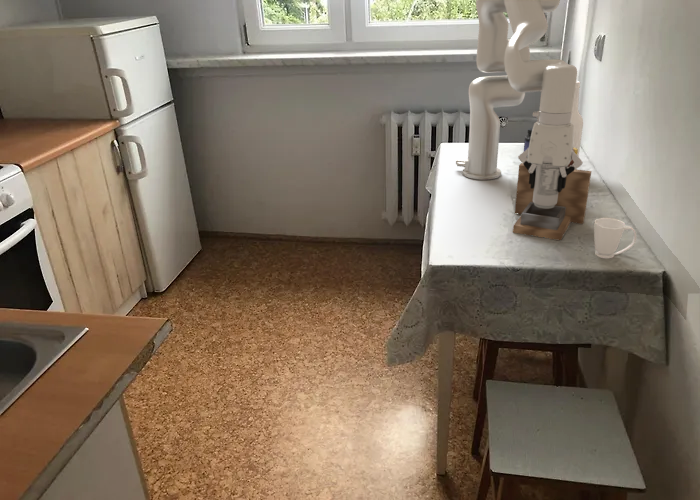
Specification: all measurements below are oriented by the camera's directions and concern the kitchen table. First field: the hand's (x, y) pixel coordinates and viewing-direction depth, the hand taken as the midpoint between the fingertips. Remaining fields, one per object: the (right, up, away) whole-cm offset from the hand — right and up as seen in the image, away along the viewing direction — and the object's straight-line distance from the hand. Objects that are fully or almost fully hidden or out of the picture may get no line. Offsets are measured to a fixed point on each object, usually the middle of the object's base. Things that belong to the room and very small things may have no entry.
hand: (546, 188), depth 147 cm
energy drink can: (0, -4, +2) cm, 5 cm away
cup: (+12, -17, -10) cm, 23 cm away
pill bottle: (+15, +16, +59) cm, 63 cm away
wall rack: (+1, -9, +6) cm, 11 cm away
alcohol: (+19, +8, +43) cm, 47 cm away
